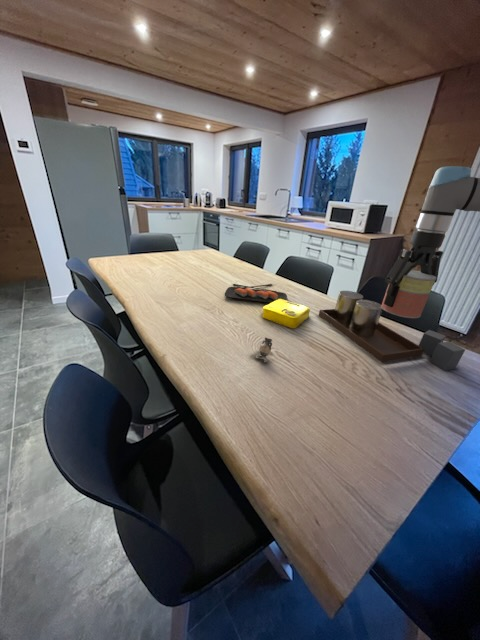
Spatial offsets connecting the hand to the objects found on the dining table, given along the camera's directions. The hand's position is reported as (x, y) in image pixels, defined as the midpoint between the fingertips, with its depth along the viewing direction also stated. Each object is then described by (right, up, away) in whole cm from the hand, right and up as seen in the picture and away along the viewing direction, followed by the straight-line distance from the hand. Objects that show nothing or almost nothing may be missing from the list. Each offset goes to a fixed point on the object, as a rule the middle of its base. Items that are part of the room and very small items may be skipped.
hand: (402, 304), depth 82 cm
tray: (-5, -10, +16) cm, 20 cm away
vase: (-43, -16, -2) cm, 46 cm away
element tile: (-32, -4, +25) cm, 41 cm away
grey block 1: (+13, -16, +8) cm, 22 cm away
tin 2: (-5, -9, +17) cm, 20 cm away
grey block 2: (+14, -19, +2) cm, 24 cm away
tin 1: (-8, -5, +26) cm, 27 cm away
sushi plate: (-42, +9, +49) cm, 66 cm away
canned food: (0, -2, +1) cm, 2 cm away
